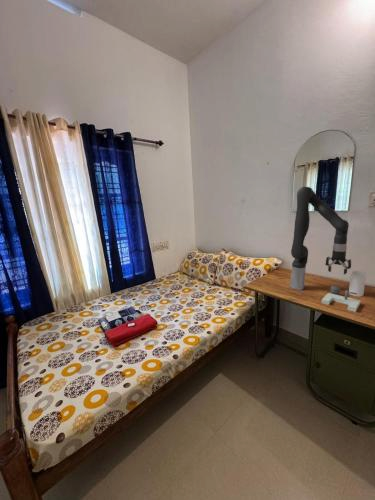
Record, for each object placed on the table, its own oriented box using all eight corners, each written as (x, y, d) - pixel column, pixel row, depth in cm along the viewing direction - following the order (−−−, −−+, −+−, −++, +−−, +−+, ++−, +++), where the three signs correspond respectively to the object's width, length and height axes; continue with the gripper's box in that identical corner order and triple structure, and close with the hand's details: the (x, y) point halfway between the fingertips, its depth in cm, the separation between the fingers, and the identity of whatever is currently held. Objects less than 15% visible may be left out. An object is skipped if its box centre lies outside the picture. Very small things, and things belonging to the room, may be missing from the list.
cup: (360, 297, 147) (363, 275, 143) (346, 293, 153) (349, 272, 150) (365, 294, 151) (368, 272, 148) (351, 290, 158) (353, 269, 154)
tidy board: (321, 303, 142) (322, 291, 140) (327, 296, 151) (328, 284, 149) (355, 312, 129) (357, 299, 127) (360, 303, 138) (361, 291, 136)
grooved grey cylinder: (329, 295, 152) (330, 287, 151) (331, 292, 156) (332, 284, 155) (338, 297, 148) (339, 289, 147) (340, 294, 152) (341, 286, 151)
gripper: (325, 249, 148) (323, 272, 151) (351, 252, 138) (348, 276, 141) (328, 247, 153) (327, 269, 156) (353, 250, 142) (351, 273, 146)
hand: (337, 272), depth 149 cm, fingers open, 8 cm apart
